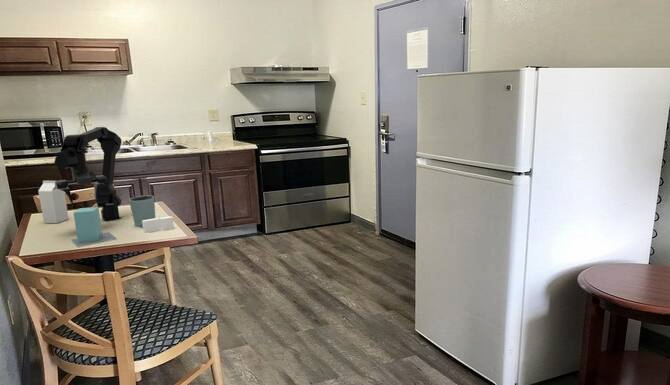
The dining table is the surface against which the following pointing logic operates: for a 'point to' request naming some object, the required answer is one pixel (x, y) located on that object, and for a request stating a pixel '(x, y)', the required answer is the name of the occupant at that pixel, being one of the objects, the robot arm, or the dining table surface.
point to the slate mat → (104, 238)
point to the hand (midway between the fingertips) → (84, 201)
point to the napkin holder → (158, 224)
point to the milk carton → (52, 203)
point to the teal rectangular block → (88, 224)
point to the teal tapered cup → (142, 208)
